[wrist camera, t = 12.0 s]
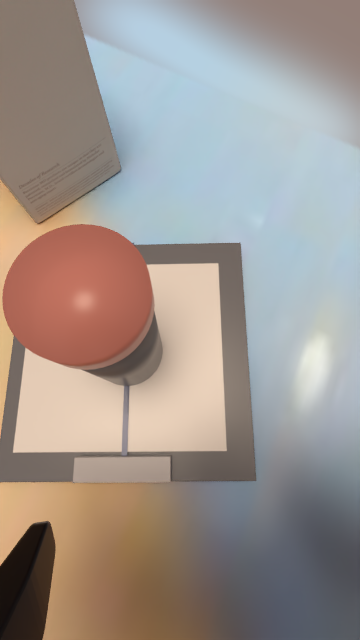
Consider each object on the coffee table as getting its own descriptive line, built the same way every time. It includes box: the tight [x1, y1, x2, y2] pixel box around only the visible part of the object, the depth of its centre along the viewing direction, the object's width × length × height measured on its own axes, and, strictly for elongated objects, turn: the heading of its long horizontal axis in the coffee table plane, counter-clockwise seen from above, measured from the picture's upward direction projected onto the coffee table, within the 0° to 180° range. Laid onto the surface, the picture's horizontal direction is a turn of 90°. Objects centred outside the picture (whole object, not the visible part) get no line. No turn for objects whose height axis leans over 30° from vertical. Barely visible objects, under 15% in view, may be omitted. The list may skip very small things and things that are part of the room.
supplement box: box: [0, 0, 121, 223], centre depth 18 cm, size 7×7×13 cm
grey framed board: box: [0, 243, 256, 483], centre depth 19 cm, size 14×14×1 cm
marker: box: [3, 224, 163, 386], centre depth 14 cm, size 4×4×10 cm
